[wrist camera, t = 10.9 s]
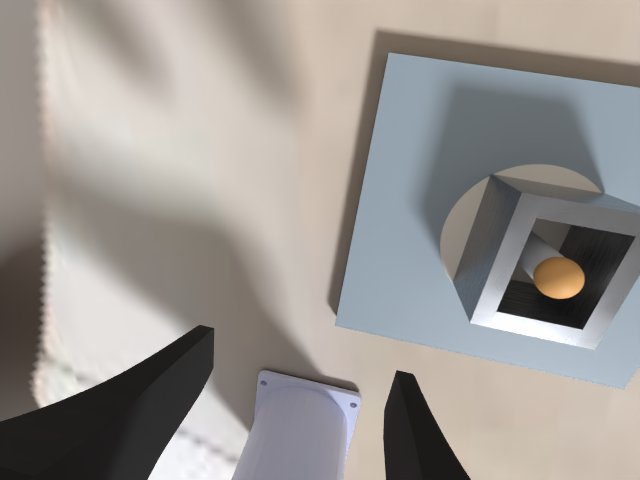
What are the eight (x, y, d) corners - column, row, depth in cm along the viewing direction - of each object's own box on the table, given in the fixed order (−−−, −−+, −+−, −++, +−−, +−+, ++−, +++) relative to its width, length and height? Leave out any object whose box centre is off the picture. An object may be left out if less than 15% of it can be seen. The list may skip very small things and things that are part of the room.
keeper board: (613, 377, 21) (693, 470, 16) (336, 317, 23) (323, 382, 17) (787, 111, 15) (1019, 114, 9) (388, 55, 17) (392, 31, 11)
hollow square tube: (552, 302, 19) (594, 349, 15) (452, 282, 19) (469, 323, 16) (607, 193, 16) (673, 219, 13) (490, 173, 17) (521, 192, 13)
